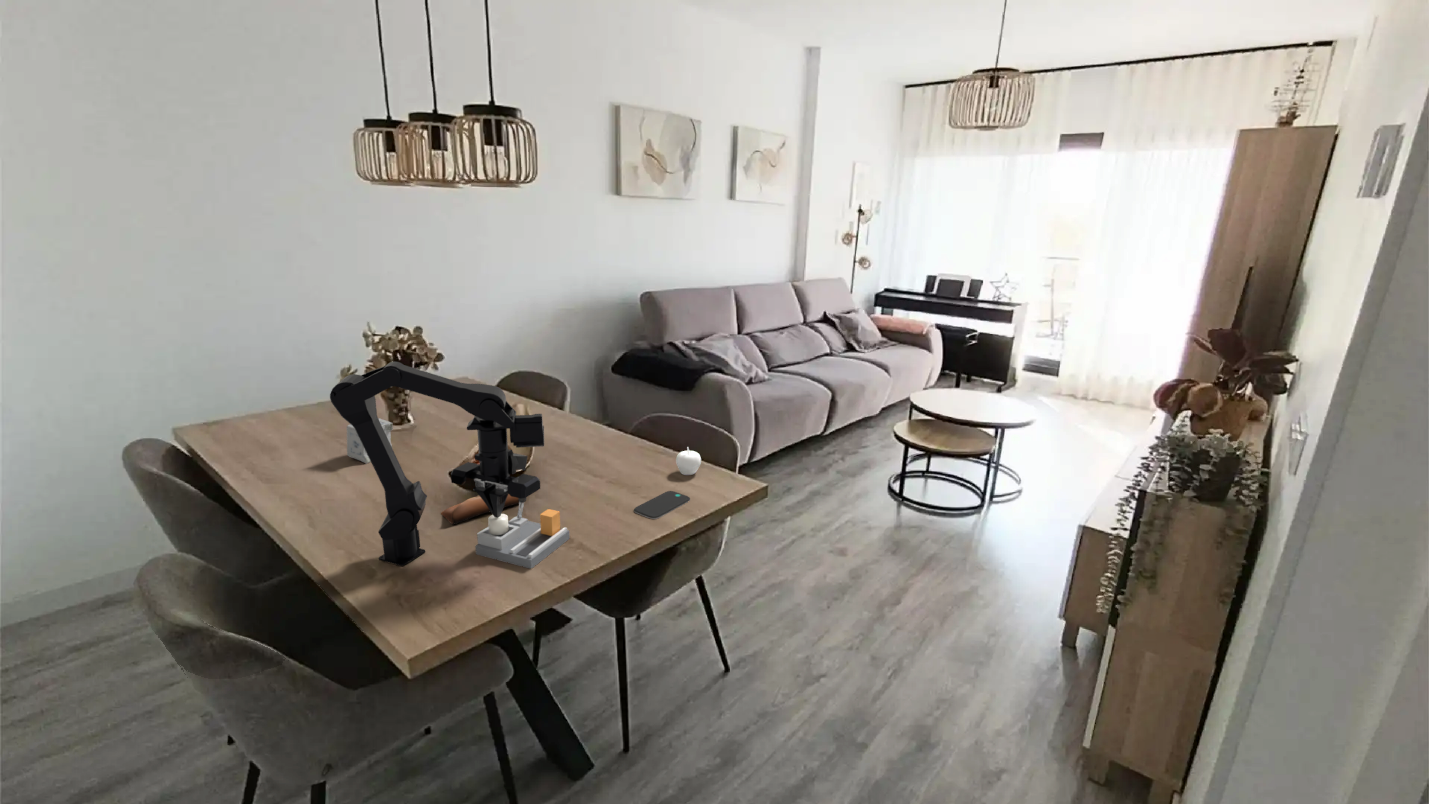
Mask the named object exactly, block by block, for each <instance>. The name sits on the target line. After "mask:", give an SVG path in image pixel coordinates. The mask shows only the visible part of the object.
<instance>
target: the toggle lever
mask: <svg viewBox="0 0 1429 804" xmlns="http://www.w3.org/2000/svg"><path fill="white" fill-rule="evenodd" d="M518 500H519V503H518V510H517V514H516V515H517V518H519V519H521V518H523V510H524V505H525V503H526V501H527V497H526V498H522V499H521V498H518Z"/></svg>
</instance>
